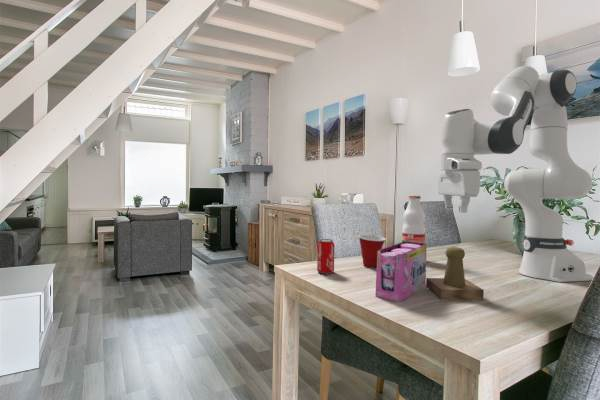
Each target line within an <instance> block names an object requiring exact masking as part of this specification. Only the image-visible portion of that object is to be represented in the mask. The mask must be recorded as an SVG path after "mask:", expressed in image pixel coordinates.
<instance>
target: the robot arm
mask: <svg viewBox="0 0 600 400" xmlns="http://www.w3.org/2000/svg"><path fill="white" fill-rule="evenodd" d="M577 85H578V84H577V77H575V74H574V73H573V72H572V71H570V70H569V69H559V70H554V71H552V72H546V73H543V74H539V72H538V70H536V69H535V68H534V67H532V66H528V65H522V66H518V67H516V68H514V69H512V70H511V71H509V73H507V74H506V75H505V76H504V77H503V78H501V80H499V82H498V83H497V84H496V86H495V87H494V89H493V90H492V92H491V94H490V98H489V99H490V100H489V101H490V105H491V107H492V109H493V110H494V111H495V112H496V113H498V114H500V115H501V116H505V118H501V119H496V120H489V121H484V122H479V121H477V120H476V119H475V118H474V112H473V111H474V110H472V109H470V108H465V109H459V110H458V109H457V110H453V111H452V110H451V111H449V112H447V113H446V114H444V117H443V121H442V125H441V126H442V128H441V143H442V149H441V155H440V157H441V158H440V172H439V175H438V181H437V193H438V195H443V201H444V204H445V210H447V211H452V210H453V209H454V204H453V202H452V201H453V200H452V199H453V197H459V200H460V205H459V206H458V212H459V213H461V214H462V213H464V214H465V213H467V212H468V207H469V204H470V201H471V198H475V197H478V195H479V193H480V187H481V172H480V170H482V168H483V167H482V166H483V163H482V161H480V160H478V159H476V158H475V157H474V155H475V156H476V155H477V156H478V155H479V156H481V155H494V154H495V155H496V154H497V155H510V154H513V153H514V152H515V151H517V150H518V149H519V148H520V147H521V145H522V144H523V141H524V137H525V130H526V128H527V126H528V123H529V121H530V119H531V123H530V130H529V145H528V147H529V148H528V150H529V153H530V154H531V155H532V157H535V158H537V159H539V160H542V161H545V162H546V163H548V167H544V168H542V167H541V168H522V169H516V170H511V171H510V172H509V173H508V174H507V175H506V176H505V179H504V181H503V182H504V184H503V186H504V189H505V191H506V193H507V194H508V195H509V196H510V197H512V198H513V199H514V200H515V201H516V202H518V204H519V205H520V207H521V209H522V212H523V214H524V225H525V227H524V229H525V230H524V232H525V233H524V235H523V240H522V241H523V243H522V244H523V245H522V246H523V254H522V260H521V264H520V267H519V269H518V273H519V274H521V275H524V276H526V277H531V278H535V279H540V280H547V281H552V282H558V283H563V282H564V283H566V282H588V281H593V280H592V279H593V277H594V276H592V274H588V273H587V268H586V265H585V261H584V260H583V259H582V258H580V257H578V256H577V255H576V254H574V253H573V252H572V251H571V250H569V249H568V247H567V246H573V245H574V244H575V241H573V240H572V239H567V238H566V239H565V238H563V226H564V225H563V224H564V219H563V216H562V214H561V213H560V212H558V211H556V210H554V209H552V208H550V207H548V206H546V205H545V204H544V203H543V200H546V199H548V200H549V199H553V200H573V199H579V198H580V199H581V198H583V197H586V196H587V195H588V194H589V193H590V191H591V189H592V186H593V179H592V176H591V175H590V174H589V173H588V171H586V169H583V168H582V167H580V166H579V165H578V164H576V163H575V162H574V160H573V159H572V158H571V155H570V153H569V150H568V149H569V148H568V114H567V113H568V112H567V107H566V106H567V105H568V104H569V101H570V100H572V99H573V97H574V95H575V93H576V92H577V88H578V87H577ZM506 116H507V117H506ZM531 116H532V118H531Z"/></svg>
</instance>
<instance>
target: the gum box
mask: <svg viewBox="0 0 600 400" xmlns="http://www.w3.org/2000/svg"><path fill="white" fill-rule="evenodd" d="M427 244H428V243H426V242H425V243H416V242H406V241H404V242H402V241H401V242H398V243H395V244H393V245H391V246H387V247H384V248H382V249H381V250H378V252H377V267H376V276H375V279H376V280H375V297H377V298H382V299H386V300H391V301H396V302H399V303H401V302H402V301H404V300H405V299H406V298H408V297H409V296H411V295H412V294H414V293H415V292H417V291H419V289H421V288H422V287H424V286H426V278H427Z"/></svg>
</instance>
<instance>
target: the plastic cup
mask: <svg viewBox="0 0 600 400" xmlns="http://www.w3.org/2000/svg"><path fill="white" fill-rule="evenodd" d="M357 237H358V240H359V244H360V251H361V259H362V264H363V267H366V268H370V267H373V269H375V268H377V252H378V250H381V249H383V246H384V244H385V241H386V239H387V238H385V237H383V236H378V235H373V234H359V235H358V236H357Z"/></svg>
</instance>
